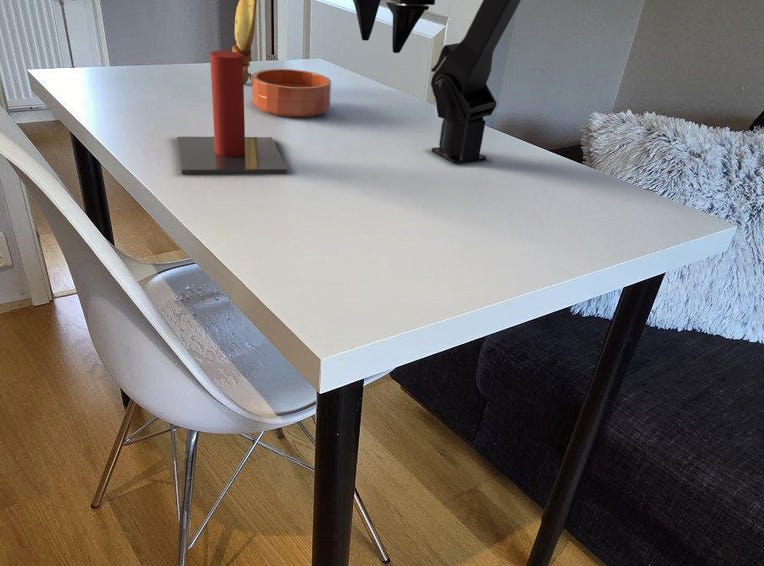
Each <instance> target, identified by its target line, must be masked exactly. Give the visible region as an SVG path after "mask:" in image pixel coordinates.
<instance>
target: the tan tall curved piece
mask: <svg viewBox="0 0 764 566" xmlns="http://www.w3.org/2000/svg"><path fill="white" fill-rule="evenodd" d="M257 3H258V0H239V1H238V4H237V6H236V10H235V18H234V39H235V42H236V44H233V45H232V48H231V51H233V52H238V53H240V54H242V55H243V84H244V85H245V84H246V83H247V82H248V80H249V81H252V73H250V72H249V67H250V66H251V61H252V58H251V52H252V50H251V47H252V44H253V41H254V35H255V29H256V12H257Z"/></svg>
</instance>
